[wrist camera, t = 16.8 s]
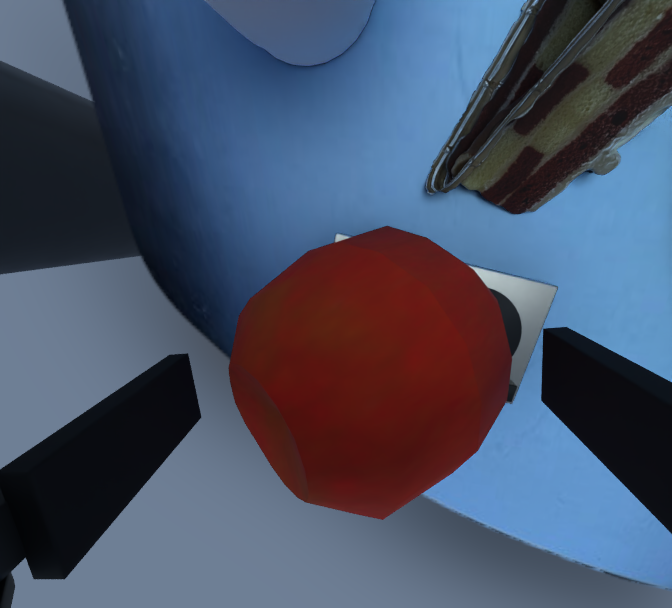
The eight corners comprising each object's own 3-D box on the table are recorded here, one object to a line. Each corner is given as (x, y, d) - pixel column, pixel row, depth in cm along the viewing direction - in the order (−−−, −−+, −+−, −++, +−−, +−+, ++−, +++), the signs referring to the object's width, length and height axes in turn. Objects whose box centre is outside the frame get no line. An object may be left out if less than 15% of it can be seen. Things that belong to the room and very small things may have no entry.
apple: (292, 553, 15) (443, 404, 21) (462, 648, 7) (623, 360, 13) (178, 350, 16) (353, 269, 23) (202, 221, 8) (465, 151, 15)
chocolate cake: (517, 267, 20) (895, 86, 10) (418, 206, 18) (771, -105, 8) (516, 156, 24) (775, -46, 14) (437, 97, 22) (675, -189, 12)
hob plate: (312, 345, 22) (306, 357, 20) (338, 232, 20) (334, 233, 18) (504, 394, 21) (518, 411, 19) (547, 283, 19) (567, 289, 17)
